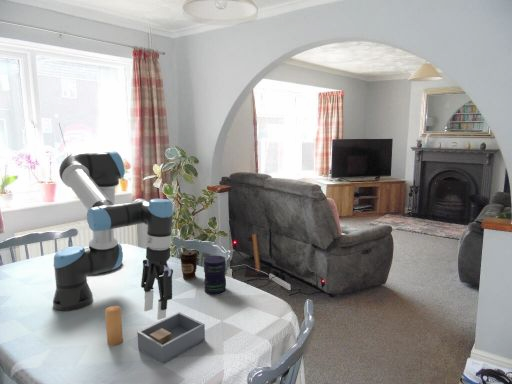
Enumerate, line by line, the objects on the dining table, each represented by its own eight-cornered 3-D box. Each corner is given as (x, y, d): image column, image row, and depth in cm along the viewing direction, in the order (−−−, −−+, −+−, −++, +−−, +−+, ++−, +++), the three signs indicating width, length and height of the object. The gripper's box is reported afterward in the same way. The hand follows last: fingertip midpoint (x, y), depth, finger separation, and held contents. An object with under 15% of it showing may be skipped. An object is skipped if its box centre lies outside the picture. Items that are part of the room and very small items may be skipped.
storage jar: (208, 296, 164) (207, 264, 161) (201, 288, 172) (200, 257, 170) (229, 292, 168) (229, 260, 166) (221, 284, 177) (220, 254, 174)
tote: (163, 364, 117) (162, 346, 116) (138, 348, 125) (137, 331, 125) (204, 340, 130) (204, 324, 129) (180, 327, 139) (179, 312, 138)
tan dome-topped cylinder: (106, 346, 127) (104, 313, 125) (108, 338, 131) (105, 306, 129) (122, 344, 128) (120, 311, 126) (123, 336, 133) (121, 305, 131)
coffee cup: (194, 281, 180) (193, 256, 178) (178, 280, 182) (177, 254, 179) (200, 275, 188) (199, 250, 186) (185, 273, 190) (184, 249, 188)
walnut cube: (159, 353, 121) (158, 339, 120) (150, 348, 124) (149, 334, 123) (172, 347, 124) (171, 333, 124) (162, 341, 128) (162, 328, 127)
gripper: (131, 241, 125) (128, 306, 128) (167, 257, 112) (162, 329, 115) (151, 238, 130) (148, 300, 133) (187, 253, 117) (182, 321, 120)
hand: (154, 313), depth 124 cm, fingers open, 7 cm apart
